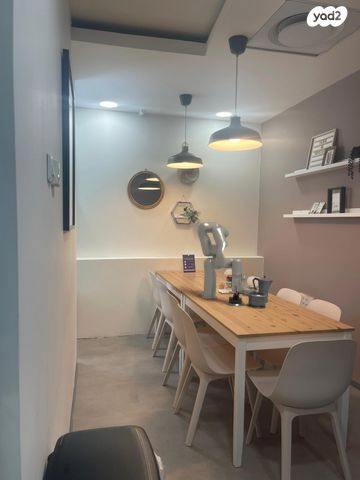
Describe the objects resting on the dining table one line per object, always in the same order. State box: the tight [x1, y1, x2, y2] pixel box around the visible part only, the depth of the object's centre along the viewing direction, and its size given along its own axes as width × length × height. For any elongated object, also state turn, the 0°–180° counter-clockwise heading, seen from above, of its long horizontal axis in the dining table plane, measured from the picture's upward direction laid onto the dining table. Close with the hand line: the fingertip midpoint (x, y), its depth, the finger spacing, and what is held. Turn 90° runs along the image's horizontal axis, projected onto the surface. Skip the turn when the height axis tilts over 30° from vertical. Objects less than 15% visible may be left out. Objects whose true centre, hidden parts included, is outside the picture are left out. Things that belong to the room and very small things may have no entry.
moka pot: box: [252, 275, 274, 304], centre depth 266 cm, size 10×15×20 cm, turn 78°
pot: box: [247, 291, 267, 309], centre depth 249 cm, size 13×13×9 cm
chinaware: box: [239, 274, 259, 297], centre depth 295 cm, size 28×17×17 cm, turn 161°
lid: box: [226, 296, 245, 307], centre depth 253 cm, size 13×13×5 cm
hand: (236, 299), depth 253 cm, fingers open, 9 cm apart
